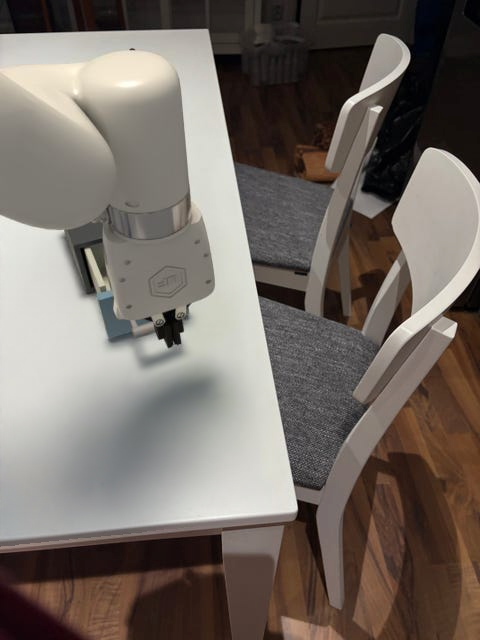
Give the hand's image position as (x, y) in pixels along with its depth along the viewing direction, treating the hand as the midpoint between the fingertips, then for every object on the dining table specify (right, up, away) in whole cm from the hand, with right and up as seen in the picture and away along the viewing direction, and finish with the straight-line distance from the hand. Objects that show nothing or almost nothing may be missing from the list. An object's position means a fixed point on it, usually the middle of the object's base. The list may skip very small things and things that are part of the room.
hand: (170, 337), depth 61 cm
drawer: (-6, +4, +13) cm, 15 cm away
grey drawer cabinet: (-12, +13, +22) cm, 28 cm away
